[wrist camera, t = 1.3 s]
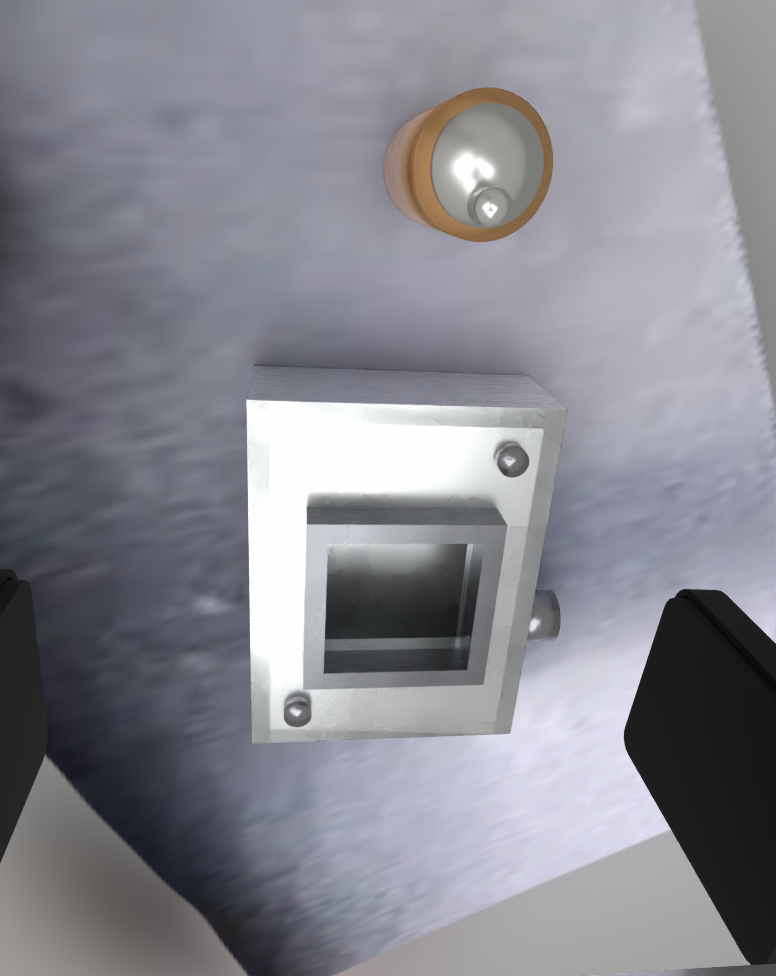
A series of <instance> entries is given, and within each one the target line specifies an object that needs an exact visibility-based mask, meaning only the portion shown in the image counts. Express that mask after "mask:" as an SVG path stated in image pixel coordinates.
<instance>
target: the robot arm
mask: <svg viewBox="0 0 776 976" xmlns="http://www.w3.org/2000/svg"><path fill="white" fill-rule="evenodd" d="M624 743H625V747H626V750H627V753H628V755H629V757H630V758H631V760H632V762H633V764H634V765H635V767H636V769H637V771H638V772H639V774H640V776H641V778H642V779H643V781H644V783H645V785H646V786H647V788H648V790H649V792H650V793H651V795H652V797H653V799H654V800H655V802H656V804H657V806H658V807H659V809H660V811H661V813H662V814H663V816H664V818H665V820H666V821H667V823H668V825H669V827H670V828H671V830H672V832H673V834H674V835H675V837H676V839H677V841H678V842H679V844H680V846H681V848H682V849H683V851H684V853H685V854H686V856H687V858H688V860H689V862H690V863H691V865H692V867H693V868H694V870H695V872H696V874H697V876H698V877H699V879H700V881H701V883H702V884H703V886H704V888H705V890H706V891H707V893H708V895H709V897H710V898H711V900H712V902H713V904H714V905H715V907H716V909H717V911H718V912H719V914H720V916H721V918H722V919H723V921H724V923H725V924H726V926H727V928H728V930H729V931H730V933H731V935H732V937H733V938H734V940H735V942H736V944H737V945H738V947H739V949H740V951H741V952H742V954H743V955H744V957H745V959H746V960H747V961H748V962H749V963H750V964H751V965H745V966H729V967H712V968H695V969H678V970H663V971H645V972H630V973H613V974H598V975H582V976H776V644H775V643H774V642H773V641H772V640H771V639H770V638H769V637H768V636H767V635H766V634H765V633H764V632H763V631H762V630H761V629H760V628H759V627H758V626H757V625H756V624H755V623H754V622H753V621H752V620H751V619H750V618H749V617H748V616H747V615H746V614H745V613H744V612H743V611H742V610H741V609H740V608H739V607H738V606H737V605H736V604H735V603H734V602H733V601H732V600H731V599H730V598H729V597H728V596H727V595H726V594H724V593H723V592H722V591H718V590H697V589H684V590H681V591H679V592H678V593H677V595H676V596H675V598H672V599H669V600H668V601H667V603H666V605H665V607H664V610H663V613H662V616H661V619H660V622H659V625H658V628H657V631H656V634H655V637H654V640H653V643H652V647H651V650H650V653H649V656H648V659H647V662H646V665H645V668H644V671H643V674H642V677H641V680H640V683H639V686H638V689H637V692H636V695H635V699H634V702H633V705H632V708H631V711H630V714H629V717H628V720H627V723H626V726H625V730H624ZM46 746H47V724H46V715H45V707H44V698H43V689H42V680H41V671H40V662H39V653H38V645H37V636H36V627H35V618H34V609H33V600H32V591H31V586H30V584H29V582H28V581H26V580H17V576H16V574H15V572H14V571H13V570H11V569H0V862H1V860H2V858H3V855H4V853H5V850H6V848H7V846H8V843H9V841H10V838H11V836H12V834H13V831H14V829H15V826H16V824H17V821H18V819H19V817H20V814H21V812H22V809H23V807H24V805H25V802H26V800H27V797H28V795H29V793H30V790H31V788H32V785H33V783H34V781H35V778H36V776H37V774H38V771H39V769H40V766H41V764H42V762H43V759H44V755H45V751H46Z"/></svg>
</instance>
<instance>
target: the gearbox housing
mask: <svg viewBox="0 0 776 976" xmlns="http://www.w3.org/2000/svg"><path fill="white" fill-rule="evenodd" d="M567 410H568V409H567V408H565V407H564V406H563V405H562V404H561V403H560V402H558V401H557V400H556V399H555V398H554V397H553V396H552V395H550V394H549V393H548V392H547V391H546V390H545V389H543V388H542V387H541V386H540V385H539V384H538V383H536V382H535V381H534V380H533V379H532V378H531V377H529V376H528V375H507V374H478V373H450V372H422V371H393V370H365V369H336V368H308V367H280V366H254V369H253V373H252V378H251V383H250V387H249V392H248V396H247V457H248V519H249V581H250V642H251V704H252V743H276V742H303V741H329V740H356V739H383V738H409V737H436V736H463V735H489V734H510V732H511V726H512V721H513V715H514V709H515V704H516V698H517V692H518V687H519V681H520V676H521V670H522V664H523V659H524V653H525V647H526V642H527V641H554V640H555V639H556V638H557V636H558V634H559V630H560V608H559V603H558V600H557V597H556V595H555V593H554V592H553V591H552V590H536V585H537V580H538V574H539V568H540V563H541V557H542V551H543V546H544V540H545V534H546V529H547V523H548V517H549V512H550V506H551V500H552V495H553V489H554V483H555V478H556V472H557V467H558V461H559V455H560V450H561V444H562V438H563V433H564V427H565V421H566V416H567Z"/></svg>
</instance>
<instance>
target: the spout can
mask: <svg viewBox="0 0 776 976" xmlns="http://www.w3.org/2000/svg"><path fill="white" fill-rule="evenodd" d="M552 168H553V152H552V145H551V141H550V137H549V133H548V131H547V129H546V126H545V124H544V122H543V120H542V119H541V117H540V115H539V114H538V113H537V112H536V110H535V109H534V108H533V107H532V106H531V105H530V104H529V103H528V102H527V101H525V100H524V99H523V98H521V97H520V96H518V95H516V94H514V93H512V92H509V91H506V90H503V89H498V88H479V89H474V90H470V91H467V92H464V93H462V94H460V95H458V96H456V97H454V98H452V99H450V100H448V101H446V102H444V103H442V104H440V105H438V106H436V107H434V108H432V109H430V110H428V111H426V112H423V113H421V114H419V115H417V116H415V117H413V118H412V119H410V120H409V121H407V122H406V123H405V124H403V125H402V126H401V127H400V128H399V129H398V131H397V132H396V133H395V135H394V136H393V138H392V139H391V141H390V143H389V145H388V148H387V151H386V155H385V159H384V181H385V185H386V189H387V191H388V194H389V196H390V198H391V200H392V202H393V203H394V204H395V206H396V207H397V208H398V209H399V210H400V212H402V213H403V214H404V215H405V216H407V217H408V218H410V219H412V220H414V221H416V222H418V223H421V224H424V225H426V226H429V227H432V228H434V229H437V230H440V231H442V232H445V233H447V234H450V235H453V236H455V237H458V238H461V239H464V240H468V241H475V242H487V241H493V240H497V239H500V238H503V237H506V236H508V235H510V234H512V233H513V232H515V231H517V230H518V229H520V228H521V227H522V226H523V225H525V224H526V223H527V222H528V221H529V220H530V219H531V218H532V216H533V215H534V214H535V213H536V211H537V210H538V208H539V207H540V205H541V203H542V202H543V200H544V198H545V195H546V193H547V191H548V188H549V184H550V181H551V176H552Z"/></svg>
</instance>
